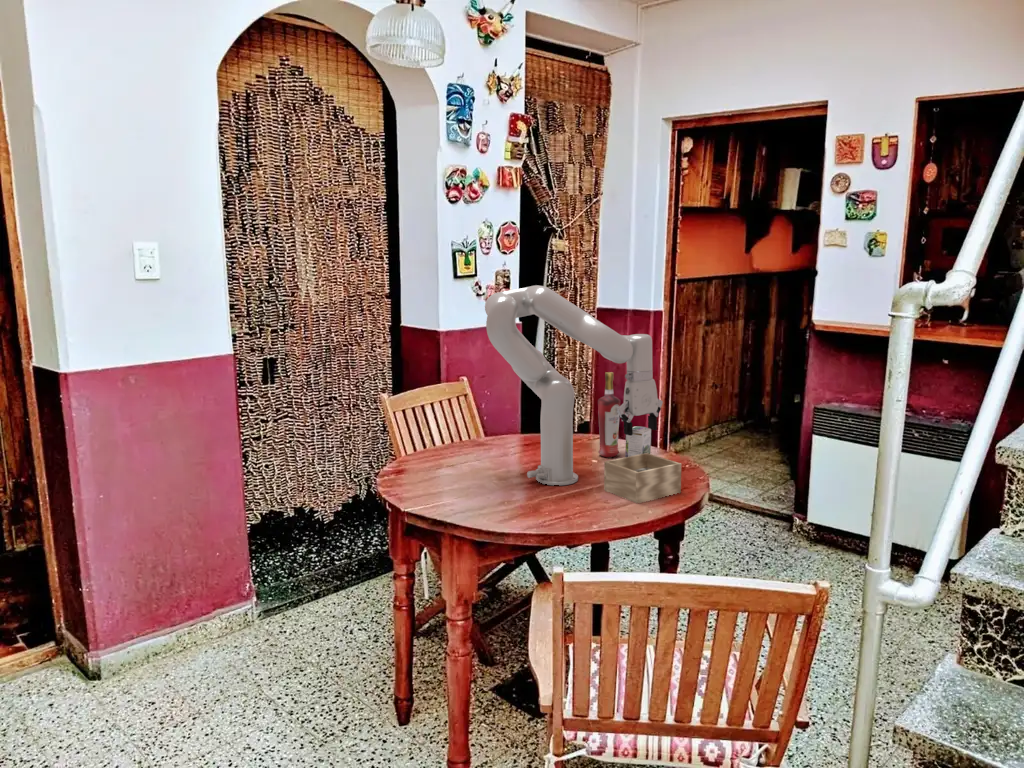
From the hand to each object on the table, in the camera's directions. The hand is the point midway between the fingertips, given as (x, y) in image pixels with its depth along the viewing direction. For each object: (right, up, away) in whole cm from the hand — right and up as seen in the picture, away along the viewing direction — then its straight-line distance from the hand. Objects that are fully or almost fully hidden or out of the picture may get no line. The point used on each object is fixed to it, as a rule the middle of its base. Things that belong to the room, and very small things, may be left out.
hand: (640, 431), depth 224 cm
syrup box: (0, -13, +2) cm, 14 cm away
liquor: (-6, -10, +24) cm, 27 cm away
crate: (-2, -16, -14) cm, 21 cm away
